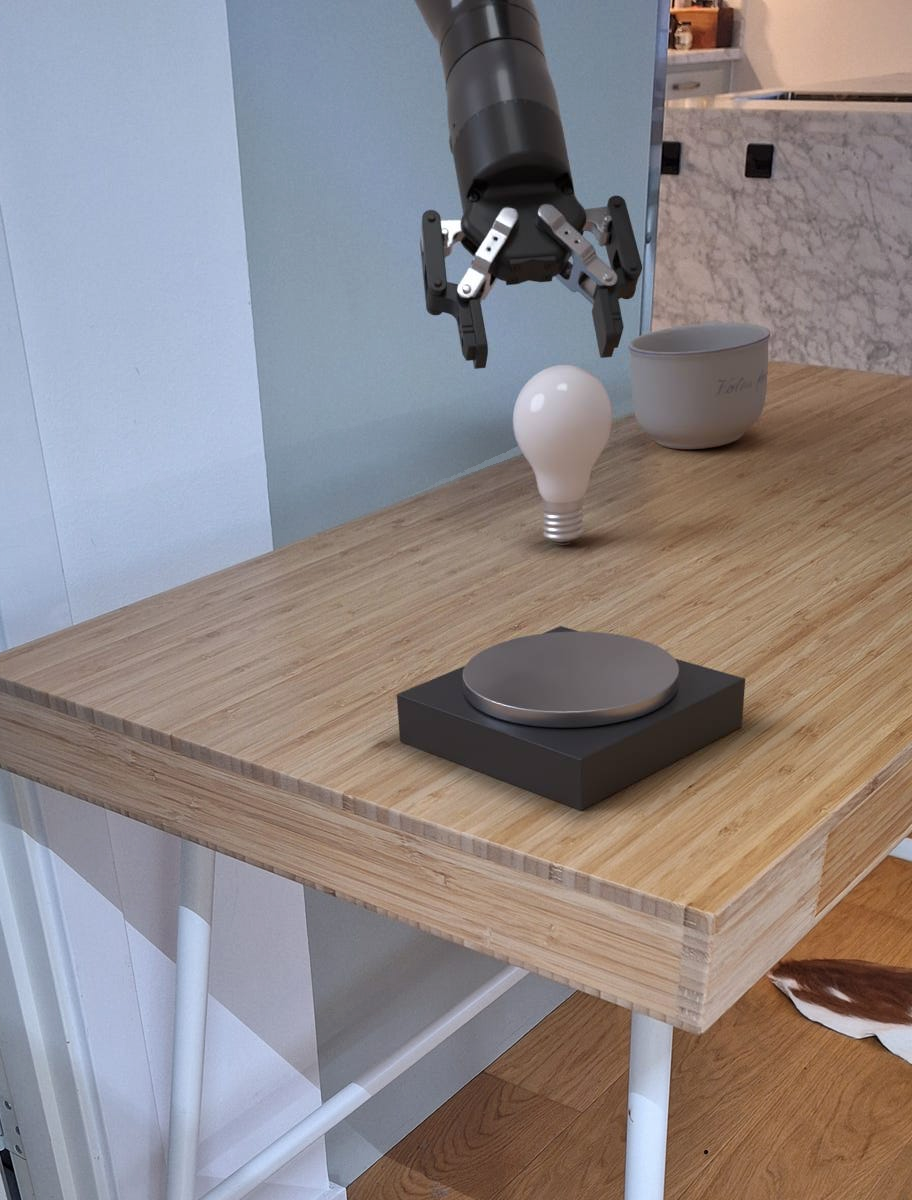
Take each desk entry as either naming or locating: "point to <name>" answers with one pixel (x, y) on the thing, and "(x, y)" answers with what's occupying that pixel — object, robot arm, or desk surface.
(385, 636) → the desk surface
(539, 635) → the scale pan
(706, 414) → the teacup
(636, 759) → the scale
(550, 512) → the lightbulb
